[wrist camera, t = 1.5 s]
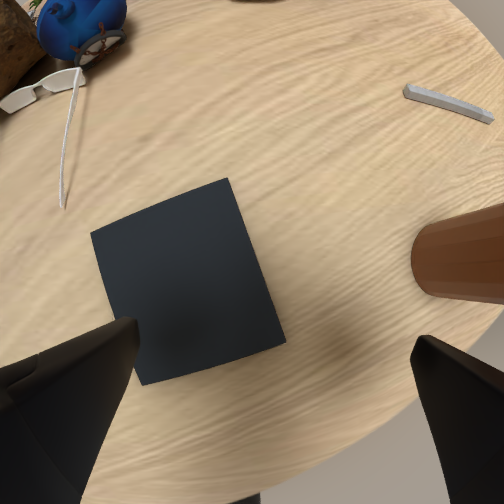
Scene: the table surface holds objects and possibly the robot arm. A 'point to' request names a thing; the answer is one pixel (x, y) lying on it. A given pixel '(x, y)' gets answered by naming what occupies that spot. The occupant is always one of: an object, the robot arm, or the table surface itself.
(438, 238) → the jar
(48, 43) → the bomb
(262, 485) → the table surface
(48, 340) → the table surface
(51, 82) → the glasses
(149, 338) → the mat
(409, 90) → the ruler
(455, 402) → the robot arm
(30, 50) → the bowl
